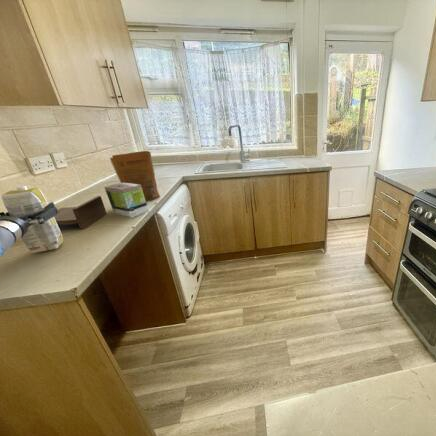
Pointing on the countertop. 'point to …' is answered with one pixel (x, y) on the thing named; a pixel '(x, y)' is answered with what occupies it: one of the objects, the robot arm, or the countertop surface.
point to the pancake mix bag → (137, 171)
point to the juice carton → (37, 233)
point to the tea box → (127, 199)
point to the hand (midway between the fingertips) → (35, 208)
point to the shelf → (82, 213)
